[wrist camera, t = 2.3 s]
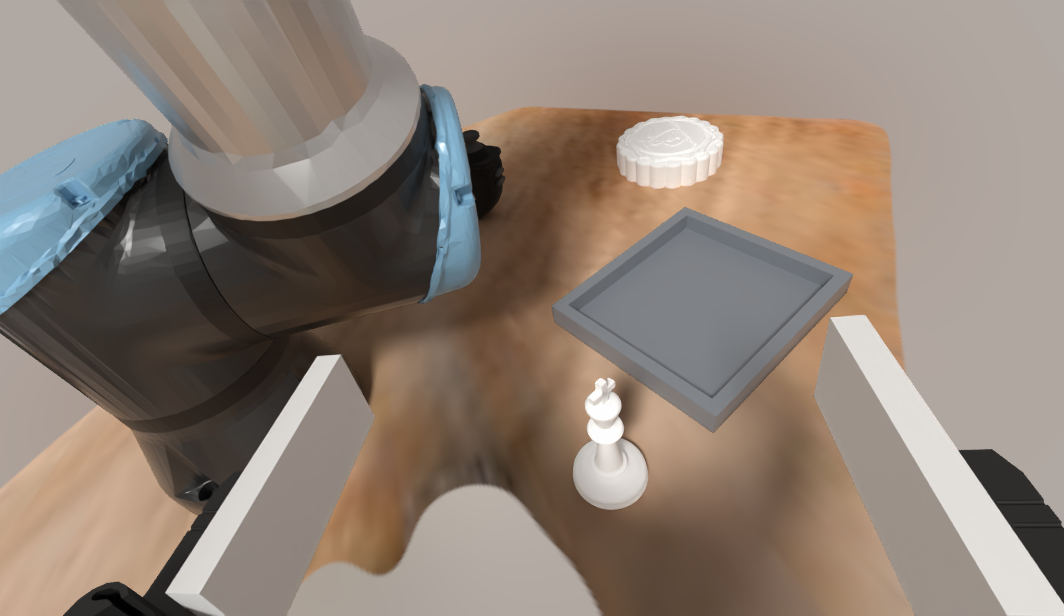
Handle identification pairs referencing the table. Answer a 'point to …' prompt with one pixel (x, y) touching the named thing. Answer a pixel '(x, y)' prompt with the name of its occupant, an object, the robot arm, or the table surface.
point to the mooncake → (670, 152)
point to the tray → (701, 311)
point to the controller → (484, 172)
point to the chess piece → (608, 455)
